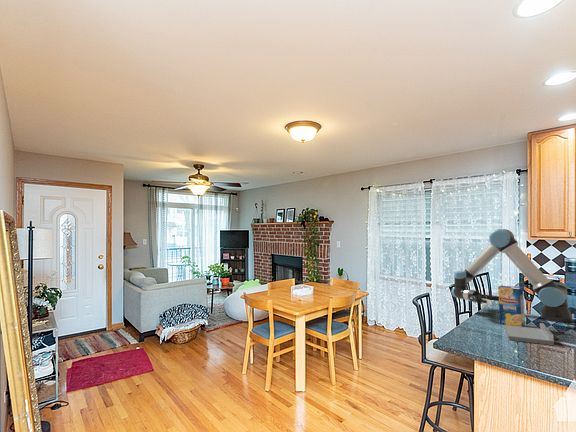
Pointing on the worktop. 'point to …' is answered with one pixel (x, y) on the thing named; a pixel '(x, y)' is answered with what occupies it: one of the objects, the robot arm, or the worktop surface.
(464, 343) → the worktop surface
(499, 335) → the worktop surface
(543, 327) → the price rail
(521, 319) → the beverage box
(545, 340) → the shelf board
